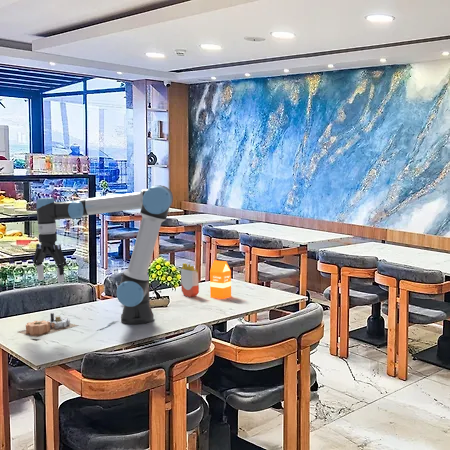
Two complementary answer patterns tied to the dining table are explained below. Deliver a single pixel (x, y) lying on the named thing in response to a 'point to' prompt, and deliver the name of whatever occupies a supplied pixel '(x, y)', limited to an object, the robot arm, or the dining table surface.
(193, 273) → the french fries container
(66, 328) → the gear board
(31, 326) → the loose gear
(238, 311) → the dining table surface
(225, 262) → the orange juice
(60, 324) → the gear
